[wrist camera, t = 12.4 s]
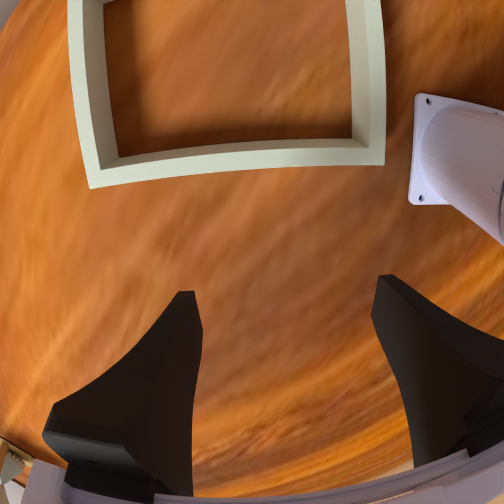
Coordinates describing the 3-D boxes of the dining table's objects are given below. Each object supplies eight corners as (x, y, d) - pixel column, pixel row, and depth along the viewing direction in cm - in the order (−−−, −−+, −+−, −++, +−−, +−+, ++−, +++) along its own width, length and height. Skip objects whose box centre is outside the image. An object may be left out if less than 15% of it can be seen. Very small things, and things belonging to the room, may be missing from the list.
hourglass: (51, 476, 60) (37, 537, 38) (-7, 446, 55) (-25, 503, 33) (38, 456, 49) (18, 533, 28) (-28, 417, 45) (-55, 486, 23)
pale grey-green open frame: (355, -30, 12) (373, -44, 10) (365, 153, 19) (384, 165, 16) (89, -4, 12) (68, -14, 10) (108, 174, 19) (89, 189, 16)
